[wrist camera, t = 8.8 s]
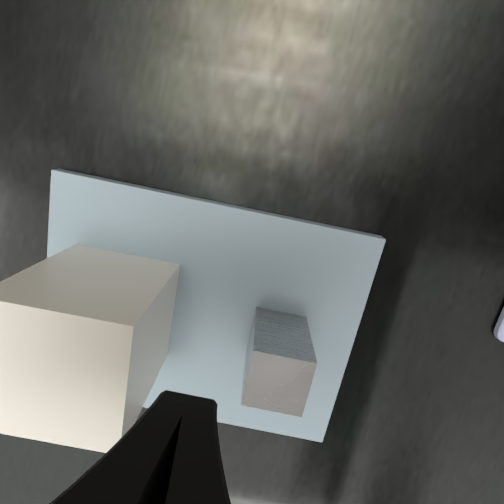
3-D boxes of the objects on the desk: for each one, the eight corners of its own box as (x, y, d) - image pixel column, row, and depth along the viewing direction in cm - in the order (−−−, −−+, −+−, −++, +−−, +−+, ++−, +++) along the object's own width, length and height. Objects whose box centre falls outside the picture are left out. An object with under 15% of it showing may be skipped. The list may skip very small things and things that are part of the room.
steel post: (304, 310, 19) (317, 363, 15) (293, 352, 20) (302, 417, 15) (256, 300, 19) (253, 350, 14) (246, 343, 20) (240, 405, 15)
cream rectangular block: (180, 264, 18) (133, 326, 12) (167, 355, 19) (119, 455, 13) (76, 243, 18) (-28, 295, 12) (70, 337, 19) (-25, 428, 13)
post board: (380, 235, 18) (386, 239, 17) (320, 431, 21) (322, 442, 21) (60, 168, 18) (51, 169, 17) (48, 378, 21) (40, 386, 20)
